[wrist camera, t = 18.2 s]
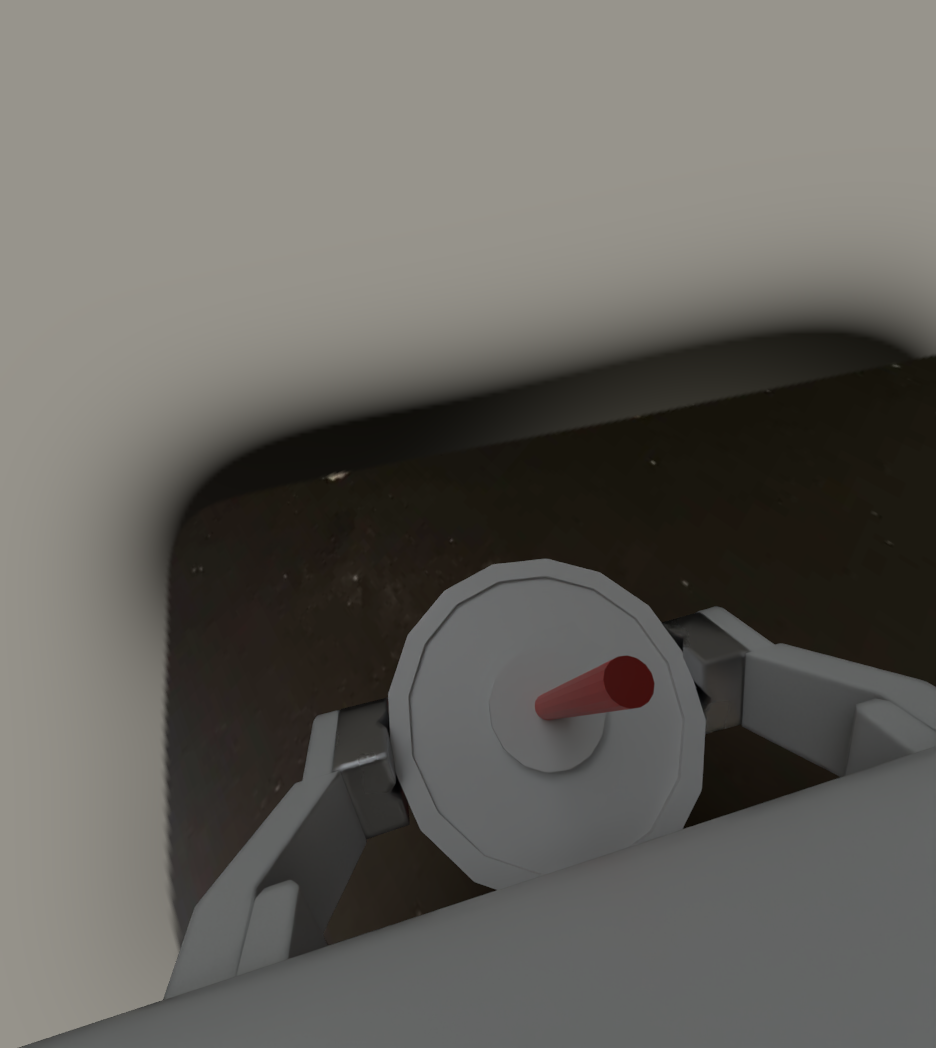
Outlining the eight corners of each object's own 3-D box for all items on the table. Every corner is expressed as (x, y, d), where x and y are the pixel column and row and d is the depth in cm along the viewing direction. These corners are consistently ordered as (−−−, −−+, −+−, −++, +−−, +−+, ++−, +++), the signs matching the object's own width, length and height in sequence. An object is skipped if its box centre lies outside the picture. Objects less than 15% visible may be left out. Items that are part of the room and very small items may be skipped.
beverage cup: (392, 709, 17) (173, 645, 4) (512, 604, 19) (606, 336, 6) (502, 860, 15) (684, 1531, 2) (625, 728, 17) (1115, 720, 4)
